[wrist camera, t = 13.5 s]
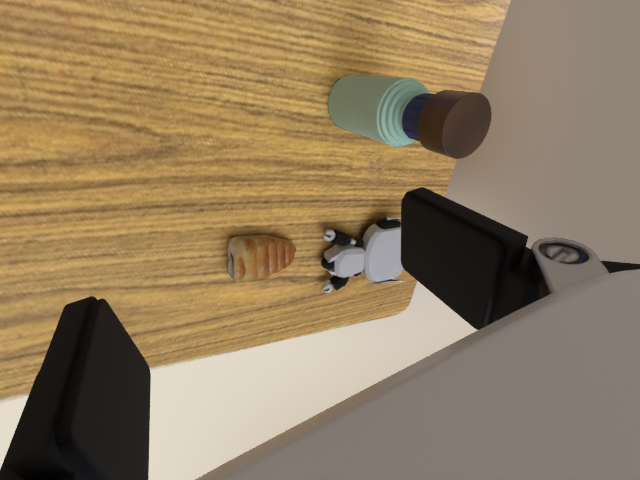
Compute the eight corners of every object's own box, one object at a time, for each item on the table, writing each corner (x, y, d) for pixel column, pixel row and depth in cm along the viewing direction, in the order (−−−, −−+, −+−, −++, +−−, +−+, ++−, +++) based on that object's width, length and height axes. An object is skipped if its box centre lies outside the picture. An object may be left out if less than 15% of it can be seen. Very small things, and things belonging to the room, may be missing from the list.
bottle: (317, 103, 39) (393, 122, 26) (353, 62, 38) (447, 61, 26) (347, 139, 42) (425, 171, 30) (380, 102, 42) (473, 119, 30)
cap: (394, 117, 29) (413, 122, 26) (424, 83, 28) (447, 85, 26) (413, 147, 31) (433, 154, 29) (442, 116, 31) (464, 120, 29)
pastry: (292, 226, 45) (302, 238, 42) (290, 266, 48) (299, 280, 45) (224, 234, 41) (229, 248, 38) (227, 277, 44) (232, 293, 41)
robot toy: (315, 286, 53) (393, 269, 57) (325, 302, 49) (408, 283, 54) (315, 219, 47) (402, 206, 51) (326, 233, 43) (419, 217, 48)
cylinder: (407, 122, 26) (432, 128, 24) (449, 75, 26) (479, 77, 23) (432, 162, 29) (456, 170, 27) (470, 120, 29) (498, 125, 26)
